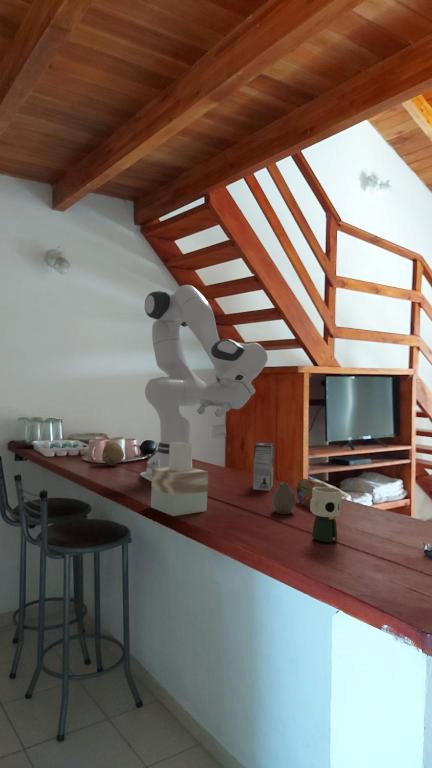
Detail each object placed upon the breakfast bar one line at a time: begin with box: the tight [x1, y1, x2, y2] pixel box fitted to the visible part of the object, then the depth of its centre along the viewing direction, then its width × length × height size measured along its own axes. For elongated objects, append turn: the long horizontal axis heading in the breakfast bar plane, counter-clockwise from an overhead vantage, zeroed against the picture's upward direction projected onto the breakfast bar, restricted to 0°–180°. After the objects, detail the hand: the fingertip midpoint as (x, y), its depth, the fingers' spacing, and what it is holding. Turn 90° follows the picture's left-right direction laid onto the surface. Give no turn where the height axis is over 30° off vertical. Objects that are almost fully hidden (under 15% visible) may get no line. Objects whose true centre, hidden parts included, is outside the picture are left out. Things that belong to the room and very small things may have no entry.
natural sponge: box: [101, 441, 125, 467], centre depth 237 cm, size 9×9×10 cm
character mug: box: [309, 486, 343, 543], centre depth 141 cm, size 11×7×13 cm, turn 126°
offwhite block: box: [169, 442, 193, 472], centre depth 167 cm, size 5×4×8 cm
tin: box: [296, 478, 328, 508], centre depth 177 cm, size 15×3×8 cm, turn 24°
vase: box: [271, 482, 296, 515], centre depth 168 cm, size 7×7×9 cm
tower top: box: [150, 466, 209, 496], centre depth 167 cm, size 12×12×6 cm
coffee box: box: [252, 442, 275, 492], centre depth 203 cm, size 9×6×16 cm
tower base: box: [150, 488, 208, 517], centre depth 167 cm, size 12×12×6 cm
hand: (208, 414), depth 173 cm, fingers open, 8 cm apart
